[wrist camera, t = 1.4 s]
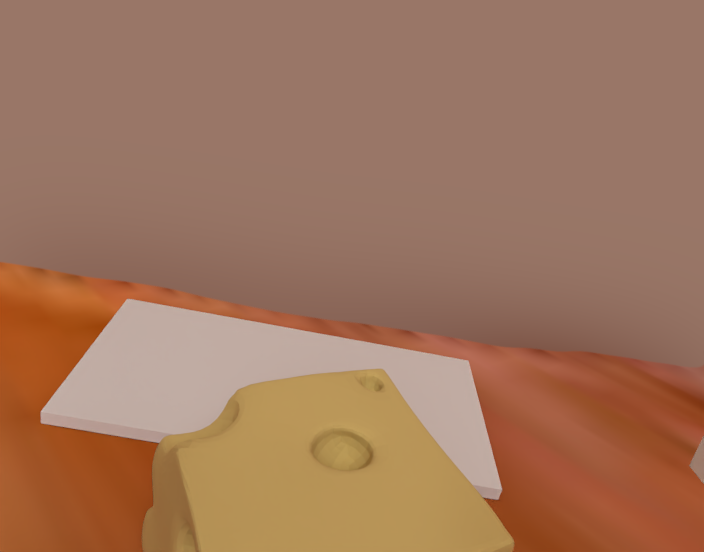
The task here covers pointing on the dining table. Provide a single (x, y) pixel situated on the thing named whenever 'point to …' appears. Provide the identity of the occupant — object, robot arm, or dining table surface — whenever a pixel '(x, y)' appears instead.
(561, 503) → the dining table surface
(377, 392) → the cheese
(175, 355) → the mat
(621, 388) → the dining table surface
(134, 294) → the dining table surface
